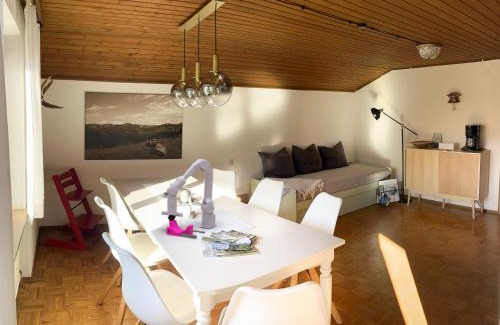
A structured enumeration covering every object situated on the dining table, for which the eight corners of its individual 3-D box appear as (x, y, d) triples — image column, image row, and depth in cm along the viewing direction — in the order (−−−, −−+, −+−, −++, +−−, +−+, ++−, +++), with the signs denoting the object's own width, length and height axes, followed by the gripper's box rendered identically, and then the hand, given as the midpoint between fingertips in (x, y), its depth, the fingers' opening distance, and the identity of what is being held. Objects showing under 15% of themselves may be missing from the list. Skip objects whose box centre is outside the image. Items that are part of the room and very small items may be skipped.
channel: (180, 231, 245) (180, 228, 245) (205, 234, 238) (205, 231, 238) (170, 235, 234) (170, 232, 234) (195, 239, 228) (195, 235, 228)
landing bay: (212, 235, 237) (212, 232, 237) (240, 238, 230) (240, 235, 230) (201, 240, 226) (201, 236, 225) (231, 243, 218) (231, 240, 218)
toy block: (166, 234, 236) (166, 222, 234) (172, 231, 242) (173, 219, 240) (186, 239, 230) (187, 228, 228) (192, 236, 235) (193, 225, 234)
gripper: (158, 205, 239) (158, 227, 240) (178, 207, 233) (178, 229, 234) (165, 203, 245) (165, 225, 246) (184, 205, 240) (184, 227, 241)
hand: (171, 227), depth 241 cm, fingers closed, pressing on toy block
